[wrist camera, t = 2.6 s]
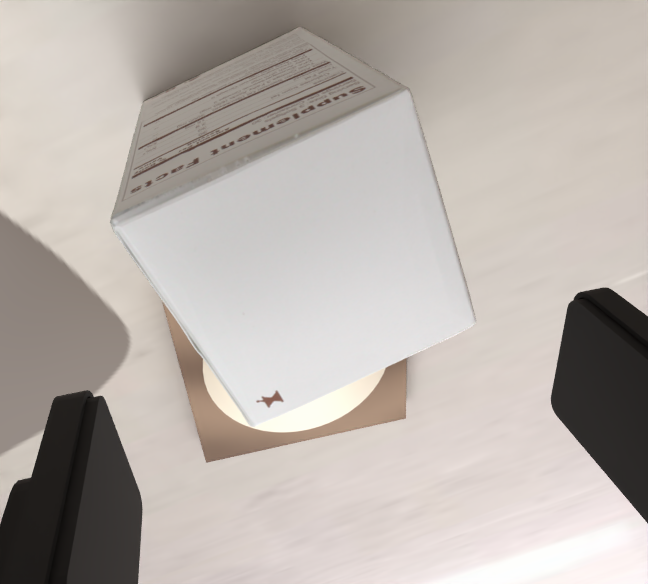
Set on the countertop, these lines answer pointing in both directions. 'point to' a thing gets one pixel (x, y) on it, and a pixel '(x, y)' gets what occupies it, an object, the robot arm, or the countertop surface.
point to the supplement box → (292, 223)
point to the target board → (295, 426)
